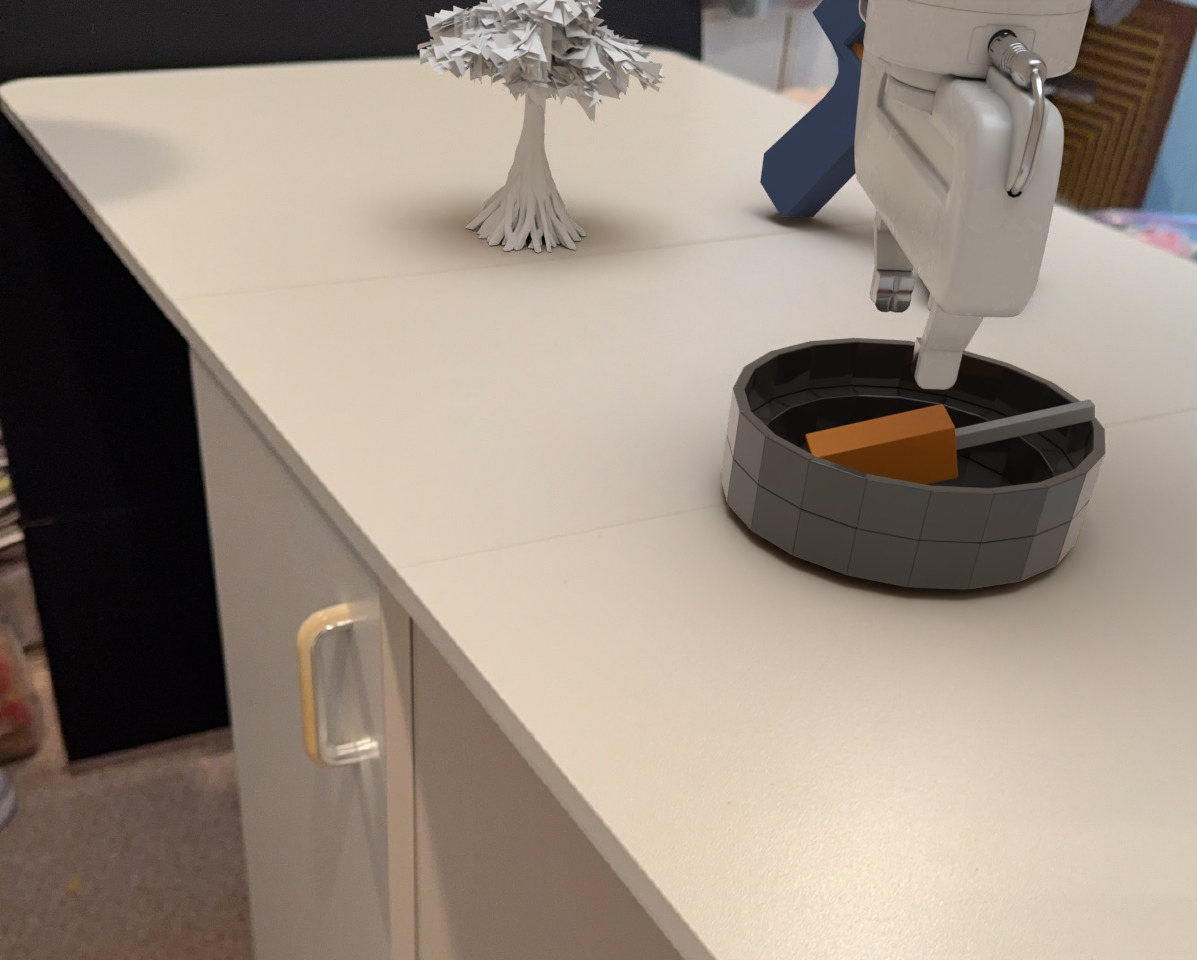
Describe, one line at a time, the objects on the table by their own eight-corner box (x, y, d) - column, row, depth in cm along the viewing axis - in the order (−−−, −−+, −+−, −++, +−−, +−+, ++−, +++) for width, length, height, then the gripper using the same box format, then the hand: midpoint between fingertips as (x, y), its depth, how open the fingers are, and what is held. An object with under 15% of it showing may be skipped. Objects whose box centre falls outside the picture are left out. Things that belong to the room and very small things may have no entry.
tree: (686, 238, 102) (713, -17, 91) (565, 289, 92) (579, 9, 81) (497, 186, 109) (502, -57, 98) (365, 228, 99) (354, -38, 88)
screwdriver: (1084, 423, 69) (1084, 371, 67) (1100, 447, 66) (1102, 394, 65) (811, 483, 70) (804, 433, 69) (819, 508, 68) (812, 458, 66)
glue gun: (895, 400, 105) (1053, 268, 94) (677, 73, 105) (810, -97, 94) (928, 387, 109) (1083, 259, 98) (718, 72, 109) (850, -90, 98)
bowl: (1016, 441, 78) (1043, 347, 74) (1121, 607, 64) (1160, 501, 60) (704, 426, 76) (716, 329, 73) (743, 592, 63) (760, 483, 59)
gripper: (1138, 71, 48) (1034, 440, 57) (988, -29, 63) (925, 273, 72) (964, 62, 47) (887, 435, 56) (856, -37, 63) (809, 269, 72)
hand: (908, 343), depth 64 cm, fingers open, 8 cm apart
